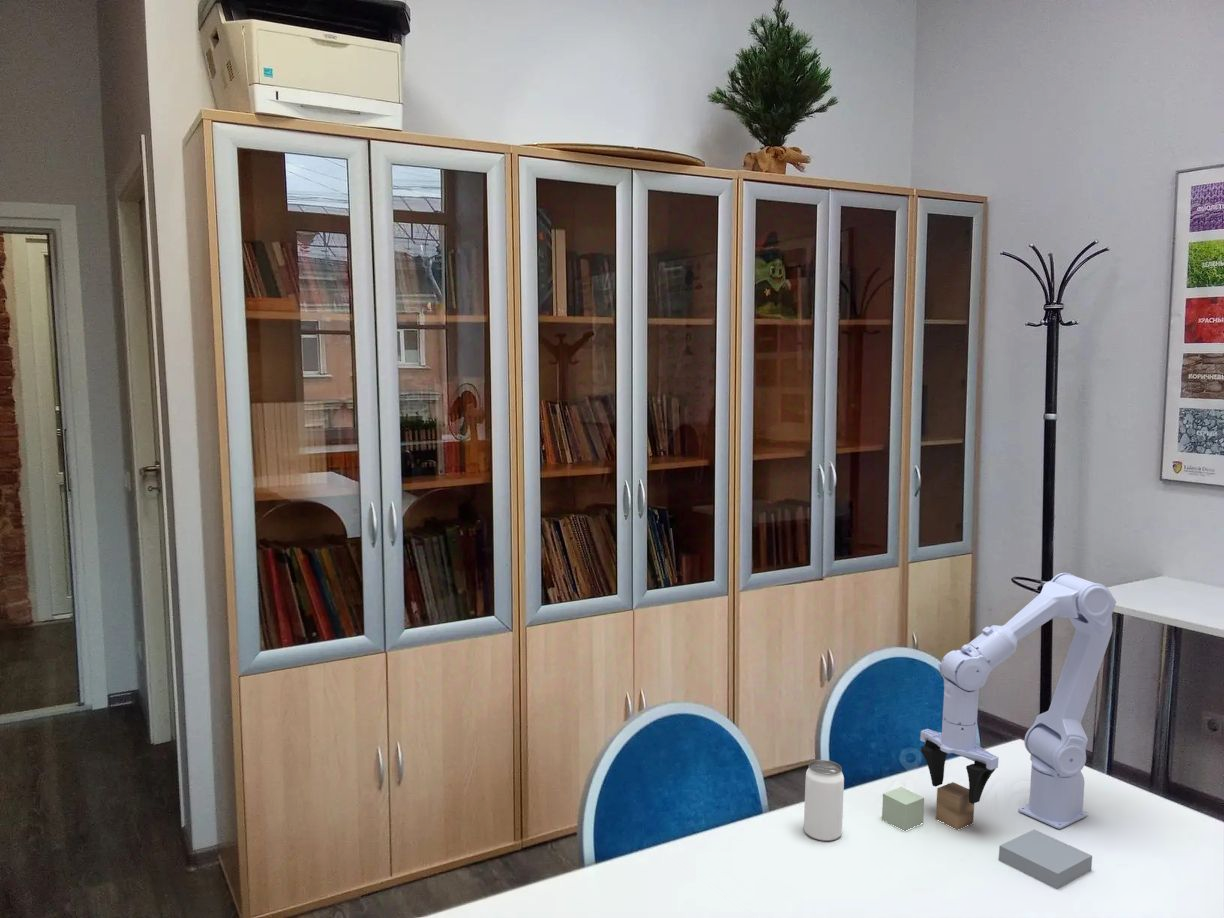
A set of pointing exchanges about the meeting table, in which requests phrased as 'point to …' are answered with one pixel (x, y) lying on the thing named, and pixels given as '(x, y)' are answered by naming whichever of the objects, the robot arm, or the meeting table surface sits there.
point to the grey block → (1045, 858)
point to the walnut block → (954, 806)
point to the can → (824, 800)
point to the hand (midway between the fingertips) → (955, 793)
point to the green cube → (903, 808)
